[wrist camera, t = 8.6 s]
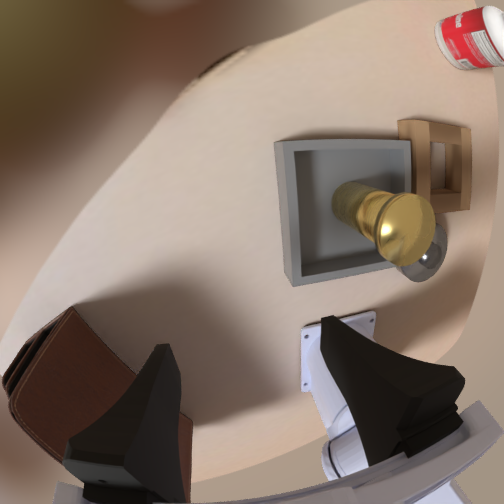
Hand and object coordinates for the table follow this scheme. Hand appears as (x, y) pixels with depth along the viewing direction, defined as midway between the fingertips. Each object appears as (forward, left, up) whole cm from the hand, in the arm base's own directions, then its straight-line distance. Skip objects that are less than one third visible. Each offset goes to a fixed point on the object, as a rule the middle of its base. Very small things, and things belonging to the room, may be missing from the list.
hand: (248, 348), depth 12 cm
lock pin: (+4, -10, -10) cm, 14 cm away
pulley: (-1, -18, -10) cm, 21 cm away
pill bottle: (+21, -25, -11) cm, 34 cm away
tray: (+4, -9, -10) cm, 14 cm away
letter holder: (-13, +16, -11) cm, 23 cm away
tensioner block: (+7, -19, -10) cm, 23 cm away
